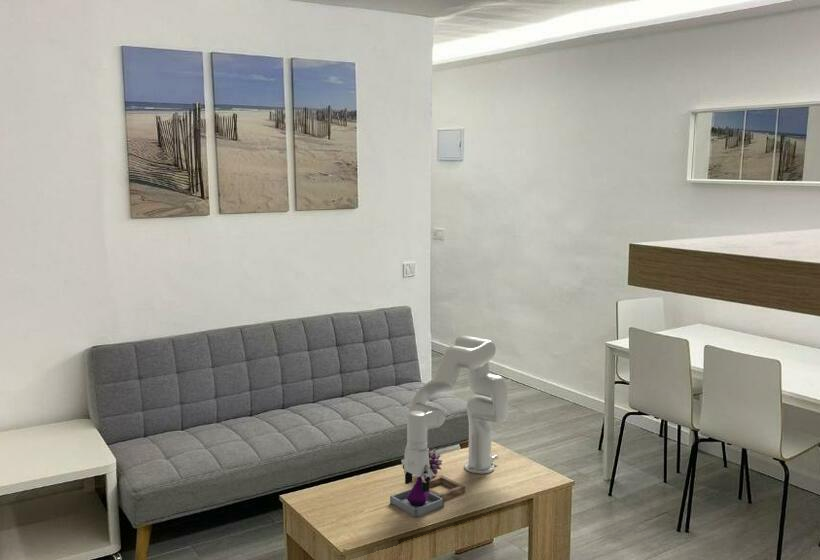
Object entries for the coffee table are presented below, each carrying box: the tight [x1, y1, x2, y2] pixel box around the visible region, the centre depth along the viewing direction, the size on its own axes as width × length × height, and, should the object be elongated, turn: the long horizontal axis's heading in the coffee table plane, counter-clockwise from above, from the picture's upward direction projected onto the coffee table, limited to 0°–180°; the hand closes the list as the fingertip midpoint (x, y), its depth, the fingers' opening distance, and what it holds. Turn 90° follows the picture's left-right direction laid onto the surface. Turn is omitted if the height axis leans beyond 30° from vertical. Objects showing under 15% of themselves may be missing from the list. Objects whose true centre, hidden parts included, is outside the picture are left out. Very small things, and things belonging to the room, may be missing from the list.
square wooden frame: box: [429, 474, 466, 501], centre depth 292 cm, size 14×14×2 cm
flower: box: [427, 447, 443, 476], centre depth 306 cm, size 12×12×12 cm
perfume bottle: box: [407, 472, 430, 506], centre depth 279 cm, size 8×8×18 cm
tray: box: [389, 487, 445, 518], centre depth 281 cm, size 14×15×3 cm
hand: (417, 487), depth 280 cm, fingers open, 9 cm apart
